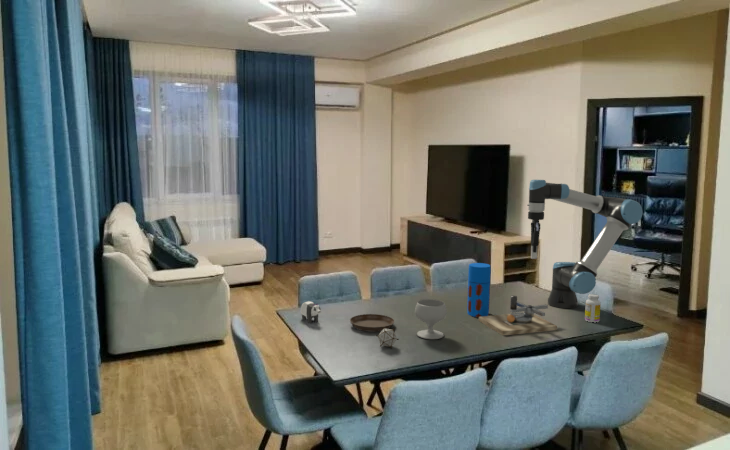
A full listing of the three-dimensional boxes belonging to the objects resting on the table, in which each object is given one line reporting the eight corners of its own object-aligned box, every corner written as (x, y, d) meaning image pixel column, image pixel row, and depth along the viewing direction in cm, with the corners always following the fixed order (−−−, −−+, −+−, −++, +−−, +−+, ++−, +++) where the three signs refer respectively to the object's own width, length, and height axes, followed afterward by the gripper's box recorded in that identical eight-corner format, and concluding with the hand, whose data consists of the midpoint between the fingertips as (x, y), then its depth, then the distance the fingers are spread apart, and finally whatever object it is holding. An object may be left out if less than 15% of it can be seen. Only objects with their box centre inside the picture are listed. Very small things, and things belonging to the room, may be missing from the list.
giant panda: (299, 318, 266) (299, 299, 265) (310, 316, 269) (309, 297, 268) (314, 326, 254) (314, 306, 253) (324, 324, 257) (324, 304, 256)
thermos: (489, 317, 269) (491, 268, 266) (466, 316, 271) (468, 266, 268) (488, 311, 280) (490, 263, 276) (467, 310, 282) (468, 262, 279)
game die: (382, 354, 231) (374, 331, 235) (401, 346, 231) (393, 324, 235) (381, 350, 222) (372, 327, 226) (400, 343, 223) (391, 320, 227)
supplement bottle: (599, 320, 267) (601, 294, 266) (599, 323, 261) (601, 297, 260) (584, 318, 270) (586, 292, 268) (584, 321, 264) (585, 295, 262)
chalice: (438, 343, 234) (439, 308, 232) (408, 336, 241) (409, 303, 239) (451, 333, 246) (452, 301, 244) (422, 328, 253) (423, 296, 251)
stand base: (529, 316, 273) (529, 311, 272) (556, 330, 252) (557, 325, 252) (478, 320, 265) (478, 316, 264) (502, 335, 244) (503, 330, 244)
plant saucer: (372, 317, 270) (372, 310, 269) (403, 327, 255) (403, 320, 255) (340, 326, 256) (340, 319, 255) (371, 337, 241) (372, 330, 240)
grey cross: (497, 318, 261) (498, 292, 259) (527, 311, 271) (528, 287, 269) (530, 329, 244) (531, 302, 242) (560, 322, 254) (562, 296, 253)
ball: (512, 320, 257) (512, 313, 257) (516, 323, 254) (516, 315, 253) (505, 321, 256) (505, 313, 255) (509, 323, 253) (509, 316, 252)
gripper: (526, 209, 276) (524, 255, 280) (530, 212, 263) (528, 260, 267) (541, 209, 275) (539, 256, 278) (546, 212, 262) (544, 261, 266)
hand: (533, 258), depth 273 cm, fingers closed
